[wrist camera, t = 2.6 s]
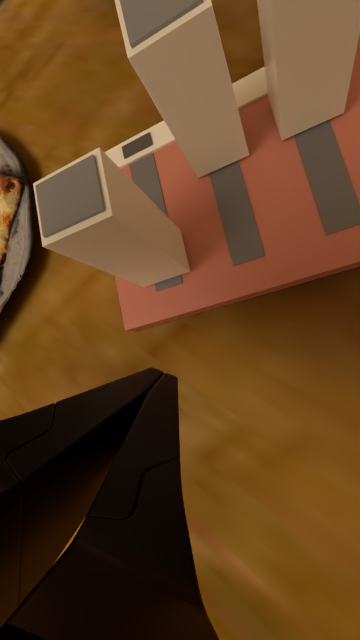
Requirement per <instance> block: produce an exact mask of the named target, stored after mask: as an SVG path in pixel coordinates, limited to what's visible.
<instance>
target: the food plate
mask: <svg viewBox="0 0 360 640" xmlns="http://www.w3.org/2000/svg"><path fill="white" fill-rule="evenodd" d="M24 166H25V165H24V164H23V162H22V160H21V158H20V157H19V155H18V154H17V153H15V152H14V150H13V148H12V147H11V146H10V145H9V143H7V142H6V141H5V140H4V139H3V137H2V136H0V313H1V311H2V308H3V307H4V305H6V302H7V301H8V300H9V297H10V296H11V292H13V290H14V289H15V288H16V285H17V283H18V282H19V281H20V280H21V279H20V278H19V277H20V276H23V275H24V274H23V273H24V270H25V268H26V266H27V263H28V260H29V259H30V256H31V250H32V247H33V245H34V244H33V242H34V241H33V240H34V239H33V238H34V225H33V223H34V220H33V205H32V203H33V201H32V199H33V198H32V196H33V194H32V188H31V187H32V186H31V184H30V182H29V180H28V178H27V176H26V175H27V174H26V171H25V167H24ZM21 278H22V277H21Z"/></svg>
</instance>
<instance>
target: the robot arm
mask: <svg viewBox="0 0 360 640" xmlns="http://www.w3.org/2000/svg"><path fill="white" fill-rule="evenodd" d="M85 517H86V518H85ZM84 518H85V519H84ZM83 520H84V521H83ZM82 521H83V523H82ZM81 523H82V525H81V527H80V529H79V531H78V532H77V534H76V536H75V537H74V539H73V541H72V542H71V544H70V545H69V547H68V548H67V549H66V550H65V552H64V553H63V554H62V555H61V556H60V558H59V559H58V560H57V558H58V557H59V555H60V554H61V552H62V551H63V549H64V548H65V546H66V545H67V543H68V542H69V540H70V539H71V537H72V536H73V534H74V533H75V531H76V530H77V528H78V527H79V525H80V524H81ZM56 560H57V561H56ZM55 561H56V562H55ZM53 564H54V565H53ZM0 640H219V638H218V636H217V634H216V632H215V630H214V628H213V626H212V624H211V622H210V619H209V617H208V615H207V612H206V610H205V607H204V604H203V601H202V597H201V593H200V589H199V585H198V580H197V575H196V570H195V565H194V559H193V554H192V548H191V543H190V537H189V531H188V526H187V520H186V515H185V508H184V501H183V494H182V484H181V468H180V441H179V409H178V379H177V377H176V376H173V375H170V374H168V373H163V371H160V370H158V369H155V368H148V369H145V370H143V371H140V372H137V373H135V374H132V375H129V376H126V377H124V378H121V379H118V380H115V381H113V382H110V383H107V384H105V385H102V386H99V387H96V388H94V389H91V390H88V391H85V392H83V393H80V394H77V395H74V396H72V397H69V398H66V399H64V400H61V401H58V402H56V403H55V404H54V403H52V404H50V405H47V406H44V407H41V408H39V409H36V410H33V411H30V412H27V413H24V414H21V415H18V416H14V417H11V418H8V419H4V420H1V421H0Z"/></svg>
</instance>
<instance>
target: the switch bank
mask: <svg viewBox="0 0 360 640" xmlns="http://www.w3.org/2000/svg"><path fill="white" fill-rule="evenodd" d="M232 87H233V91H234V95H235V99H236V103H237V107H238V111H239V115H240V119H241V123H242V127H243V131H244V135H245V139H246V143H247V147H248V151H249V156H246V157H244V158H242V159H240V160H237V161H235V162H233V163H231V164H229V165H226V166H224V167H222V168H220V169H217V170H215V171H213V172H211V173H208V174H206V175H204V176H202V177H200V178H198V177H197V176H196V174H195V172H194V171H193V169H192V167H191V165H190V164H189V162H188V160H187V159H186V157H185V155H184V153H183V152H182V150H181V148H180V147H179V145H178V143H177V141H176V140H175V138H174V136H173V135H172V133H171V131H170V130H169V128H168V126H167V124H166V123H165V121H162V122H160V123H158V124H156V125H155V126H153V127H151V128H149V129H147V130H145V131H143V132H141V133H140V134H138V135H136V136H134V137H132V138H130V139H128V140H127V141H125V142H123V143H121V144H119V145H117V146H115V147H113V148H112V149H110V150H108V151H106V152H104V153H105V154H106V155H107V156H108V157H109V158H110V159H111V160H112V161H113V162H114V163H115V164H116V165H117V166H118V167H119V168H120V169H121V170H122V171H123V172H124V173H125V174H126V175H127V176H128V177H129V178H130V179H131V180H132V181H133V182H134V183H135V184H136V185H137V186H138V187H139V188H140V189H141V190H142V191H143V192H144V193H145V194H146V195H147V196H148V197H149V198H150V199H151V200H152V201H153V202H154V203H155V204H156V206H157V207H158V208H159V209H160V210H161V211H162V212H163V213H164V214H165V215H166V216H167V217H168V218H169V219H170V220H171V221H172V222H173V223H174V224H175V225H176V226H177V227H178V228H179V229H180V230H181V234H182V239H183V243H184V247H185V251H186V255H187V260H188V264H189V268H190V272H187V273H184V274H181V275H179V276H176V277H173V278H170V279H167V280H164V281H161V282H158V283H155V284H152V285H149V286H146V287H142V286H139V285H137V284H134V283H132V282H129V281H127V280H124V279H122V278H119V277H117V276H115V280H116V285H117V290H118V295H119V301H120V306H121V311H122V316H123V322H124V327H125V331H133V332H137V331H140V330H143V329H147V328H150V327H154V326H157V325H161V324H164V323H168V322H171V321H174V320H178V319H181V318H185V317H188V316H192V315H195V314H198V313H202V312H205V311H209V310H212V309H216V308H219V307H223V306H226V305H229V304H233V303H236V302H240V301H243V300H247V299H250V298H254V297H257V296H260V295H264V294H267V293H271V292H274V291H278V290H281V289H284V288H288V287H291V286H295V285H298V284H302V283H305V282H309V281H312V280H315V279H319V278H322V277H326V276H329V275H333V274H336V273H339V272H343V271H346V270H350V269H353V268H357V267H360V35H359V40H358V45H357V50H356V55H355V60H354V65H353V70H352V75H351V80H350V85H349V90H348V95H347V100H346V105H345V111H344V113H342V114H340V115H338V116H336V117H333V118H331V119H329V120H327V121H325V122H322V123H320V124H318V125H316V126H313V127H311V128H309V129H307V130H304V131H302V132H300V133H298V134H296V135H293V136H291V137H289V138H287V139H284V140H281V137H280V134H279V131H278V127H277V124H276V121H275V118H274V115H273V112H272V109H271V106H270V102H269V99H268V90H267V82H266V73H265V67H263V68H261V69H259V70H257V71H255V72H253V73H252V74H250V75H248V76H246V77H244V78H242V79H240V80H238V81H237V82H235V83H233V84H232Z"/></svg>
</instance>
